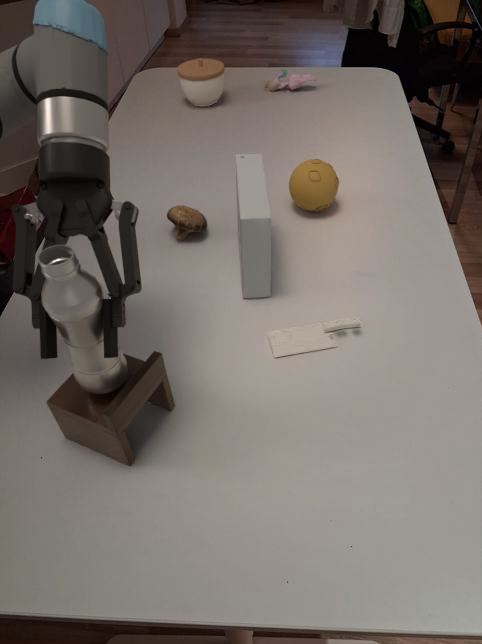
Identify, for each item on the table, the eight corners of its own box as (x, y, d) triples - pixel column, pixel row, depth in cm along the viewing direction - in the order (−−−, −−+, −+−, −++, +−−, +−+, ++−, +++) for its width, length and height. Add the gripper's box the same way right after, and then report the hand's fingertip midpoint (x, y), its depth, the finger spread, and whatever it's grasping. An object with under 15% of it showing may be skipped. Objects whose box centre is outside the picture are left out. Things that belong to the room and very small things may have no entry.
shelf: (64, 437, 74) (37, 386, 66) (113, 381, 80) (93, 329, 72) (130, 466, 70) (109, 416, 62) (175, 405, 77) (162, 353, 69)
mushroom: (166, 237, 100) (175, 203, 98) (158, 230, 107) (166, 199, 105) (206, 248, 103) (215, 216, 102) (195, 241, 110) (204, 211, 109)
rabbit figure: (264, 98, 152) (317, 90, 149) (260, 76, 148) (314, 67, 145) (267, 89, 157) (318, 81, 153) (263, 68, 152) (315, 59, 149)
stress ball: (295, 223, 107) (295, 177, 100) (284, 198, 114) (283, 153, 106) (343, 216, 108) (347, 170, 101) (329, 191, 115) (332, 146, 107)
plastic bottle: (100, 356, 72) (51, 230, 57) (141, 371, 70) (102, 245, 55) (68, 390, 68) (7, 265, 54) (111, 408, 66) (60, 282, 51)
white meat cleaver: (367, 341, 84) (368, 336, 83) (273, 358, 82) (273, 353, 82) (357, 319, 87) (358, 314, 86) (267, 334, 86) (267, 330, 85)
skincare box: (274, 297, 92) (272, 217, 80) (242, 300, 92) (235, 220, 80) (265, 227, 106) (262, 151, 95) (237, 229, 106) (231, 153, 95)
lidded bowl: (172, 102, 150) (166, 59, 142) (208, 89, 155) (203, 47, 147) (200, 115, 143) (195, 71, 135) (236, 101, 149) (233, 58, 141)
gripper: (168, 159, 63) (172, 355, 64) (6, 163, 64) (12, 357, 65) (152, 135, 56) (157, 358, 56) (-31, 141, 56) (-23, 361, 57)
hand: (80, 357), depth 60 cm, fingers closed on plastic bottle, 6 cm apart
